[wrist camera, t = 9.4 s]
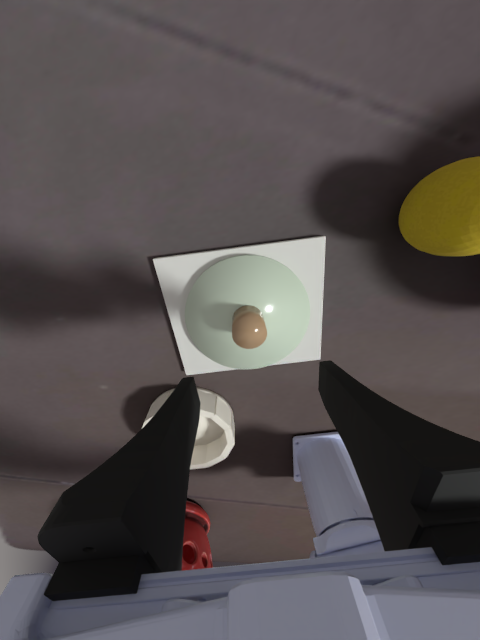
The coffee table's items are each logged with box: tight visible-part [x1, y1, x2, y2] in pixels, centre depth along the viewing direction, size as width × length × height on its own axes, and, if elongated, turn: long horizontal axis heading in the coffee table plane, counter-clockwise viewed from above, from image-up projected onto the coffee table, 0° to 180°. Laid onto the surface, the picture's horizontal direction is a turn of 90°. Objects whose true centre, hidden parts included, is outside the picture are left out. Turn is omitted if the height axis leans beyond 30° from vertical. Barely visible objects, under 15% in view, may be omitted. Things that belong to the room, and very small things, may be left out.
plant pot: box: [182, 501, 213, 571], centre depth 31 cm, size 13×13×12 cm
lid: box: [185, 254, 310, 369], centre depth 19 cm, size 11×11×3 cm
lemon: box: [399, 156, 480, 256], centre depth 14 cm, size 6×6×8 cm
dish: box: [142, 387, 235, 469], centre depth 26 cm, size 10×10×3 cm
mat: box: [153, 236, 326, 375], centre depth 21 cm, size 12×14×1 cm
